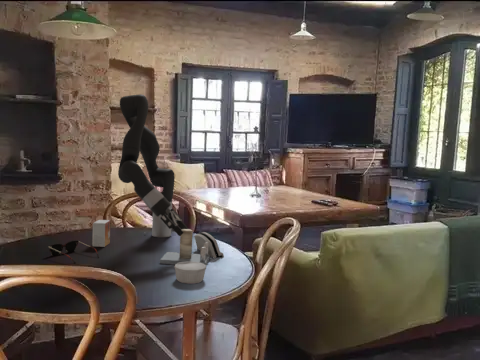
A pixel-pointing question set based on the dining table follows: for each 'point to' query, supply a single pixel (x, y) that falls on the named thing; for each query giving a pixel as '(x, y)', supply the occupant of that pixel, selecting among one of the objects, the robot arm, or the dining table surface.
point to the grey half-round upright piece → (213, 246)
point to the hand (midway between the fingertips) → (183, 232)
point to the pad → (175, 258)
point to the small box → (101, 233)
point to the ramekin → (190, 272)
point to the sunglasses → (66, 248)
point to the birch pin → (186, 244)
